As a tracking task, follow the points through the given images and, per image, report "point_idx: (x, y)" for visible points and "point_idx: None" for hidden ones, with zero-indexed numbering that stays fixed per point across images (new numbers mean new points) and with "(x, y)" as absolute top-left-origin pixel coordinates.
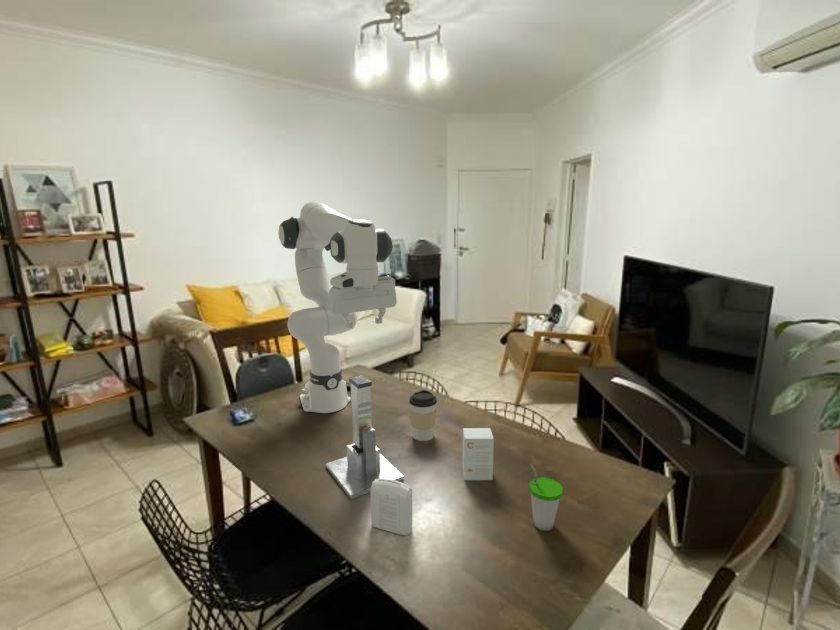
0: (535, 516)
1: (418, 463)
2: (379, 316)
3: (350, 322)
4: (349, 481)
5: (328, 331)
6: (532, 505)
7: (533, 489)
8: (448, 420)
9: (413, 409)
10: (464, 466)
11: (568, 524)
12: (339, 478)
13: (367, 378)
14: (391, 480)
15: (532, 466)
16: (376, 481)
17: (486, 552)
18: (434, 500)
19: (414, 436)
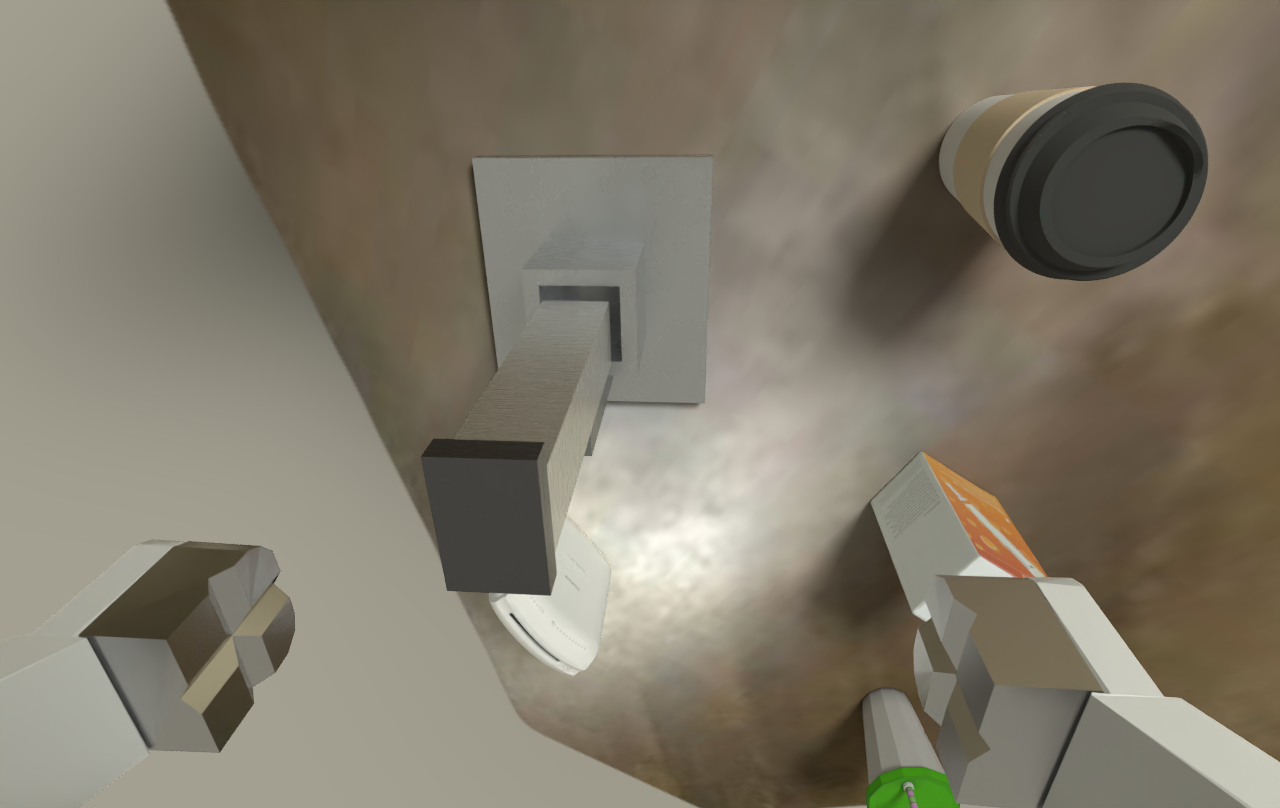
0: (865, 728)
1: (812, 340)
2: (1081, 793)
3: (167, 749)
4: (521, 329)
5: None
6: (873, 740)
7: (879, 794)
8: (1250, 70)
9: (989, 197)
10: (882, 533)
11: (932, 727)
12: (494, 293)
13: (544, 540)
14: (540, 644)
15: None
16: (502, 615)
17: (711, 689)
18: (725, 521)
19: (942, 157)
